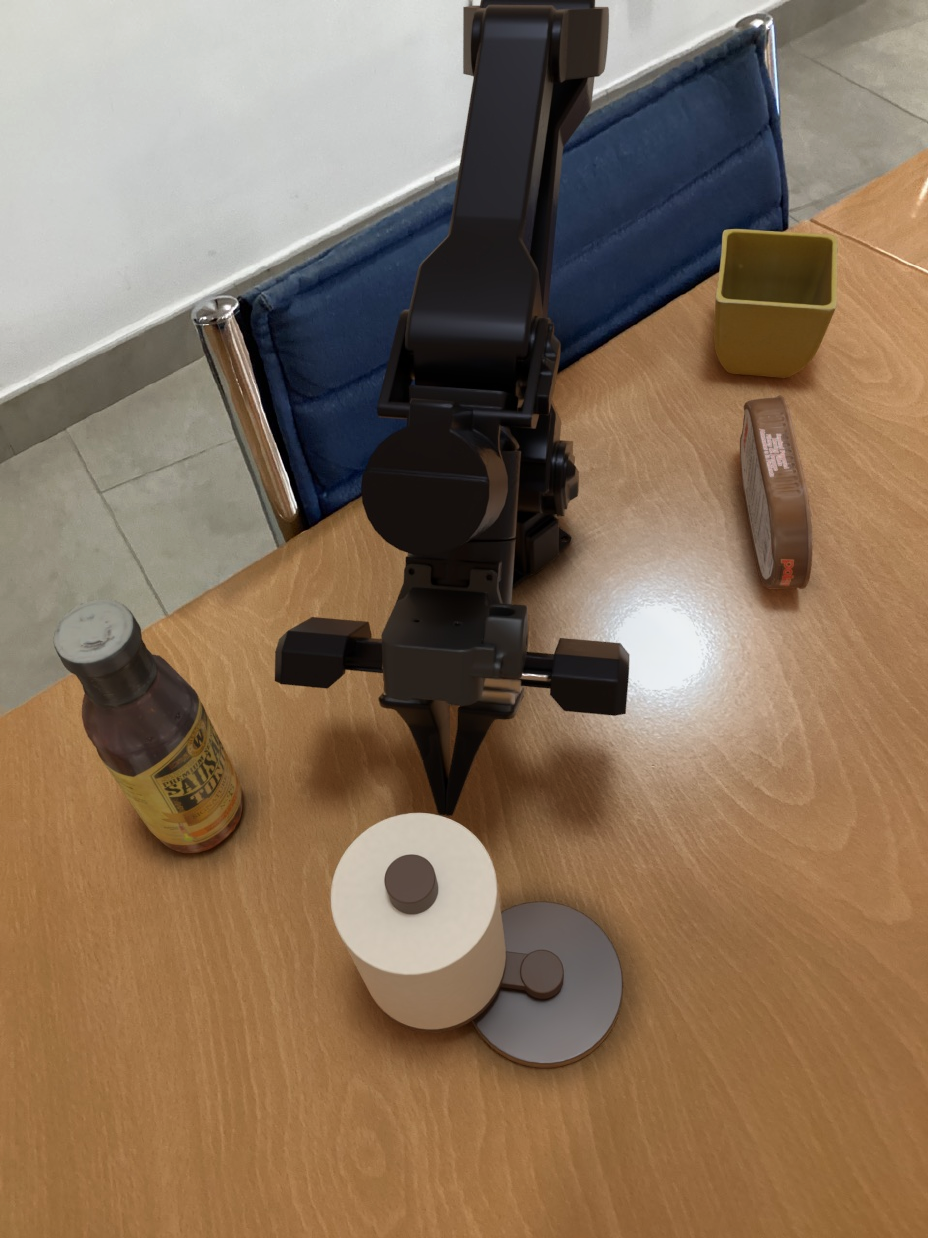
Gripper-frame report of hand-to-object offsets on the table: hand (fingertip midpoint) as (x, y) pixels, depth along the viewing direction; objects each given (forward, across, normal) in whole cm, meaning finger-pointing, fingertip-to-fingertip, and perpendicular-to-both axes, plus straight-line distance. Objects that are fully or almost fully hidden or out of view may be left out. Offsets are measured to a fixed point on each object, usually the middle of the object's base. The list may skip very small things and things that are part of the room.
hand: (446, 813), depth 59 cm
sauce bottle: (+4, -17, +6) cm, 18 cm away
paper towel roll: (+9, +1, -1) cm, 9 cm away
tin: (-15, +18, +24) cm, 34 cm away
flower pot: (-28, +18, +38) cm, 50 cm away
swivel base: (+10, +6, 0) cm, 11 cm away
